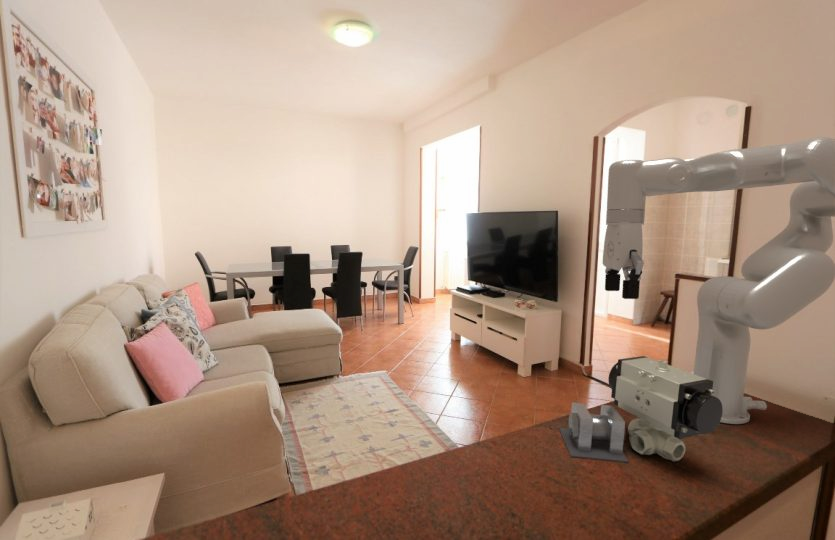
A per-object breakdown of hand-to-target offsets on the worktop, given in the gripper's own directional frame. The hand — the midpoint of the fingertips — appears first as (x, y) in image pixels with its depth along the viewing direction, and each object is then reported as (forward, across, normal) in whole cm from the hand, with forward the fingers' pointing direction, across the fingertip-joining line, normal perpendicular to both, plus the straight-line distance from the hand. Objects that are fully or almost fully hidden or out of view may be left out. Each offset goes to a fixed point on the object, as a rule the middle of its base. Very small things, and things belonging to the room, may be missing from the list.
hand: (620, 294), depth 90 cm
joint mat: (+27, +17, -11) cm, 33 cm away
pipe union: (+26, +17, -10) cm, 33 cm away
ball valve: (+27, +18, 0) cm, 32 cm away
